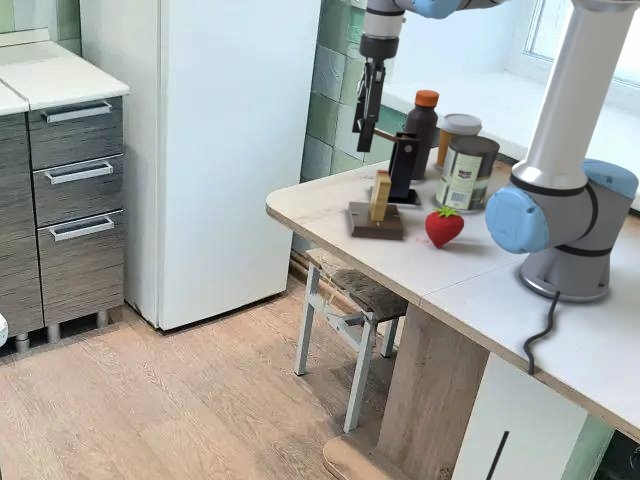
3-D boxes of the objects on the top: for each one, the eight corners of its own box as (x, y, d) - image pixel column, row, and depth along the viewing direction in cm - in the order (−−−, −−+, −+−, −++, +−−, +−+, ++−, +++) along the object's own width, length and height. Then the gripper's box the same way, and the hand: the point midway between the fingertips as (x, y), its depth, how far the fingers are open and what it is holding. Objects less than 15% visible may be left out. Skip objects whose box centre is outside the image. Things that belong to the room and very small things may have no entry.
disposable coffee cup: (478, 170, 194) (492, 122, 187) (451, 178, 190) (465, 129, 183) (447, 157, 201) (459, 110, 193) (421, 165, 197) (432, 116, 189)
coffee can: (473, 194, 183) (490, 134, 175) (488, 214, 175) (507, 152, 166) (428, 193, 183) (443, 133, 175) (441, 213, 175) (457, 151, 166)
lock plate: (401, 240, 165) (404, 228, 163) (351, 237, 165) (353, 225, 164) (394, 215, 174) (396, 203, 172) (346, 211, 175) (349, 200, 173)
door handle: (357, 134, 170) (363, 124, 168) (355, 125, 174) (360, 115, 173) (411, 156, 171) (417, 145, 170) (407, 146, 175) (413, 136, 174)
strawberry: (460, 255, 160) (473, 209, 154) (421, 253, 160) (433, 207, 154) (454, 242, 164) (466, 196, 158) (416, 239, 165) (428, 194, 159)
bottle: (405, 170, 194) (424, 86, 182) (428, 179, 190) (450, 94, 178) (387, 176, 191) (406, 92, 178) (411, 186, 186) (431, 100, 174)
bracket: (373, 205, 178) (386, 141, 169) (369, 191, 184) (382, 127, 175) (419, 209, 177) (435, 143, 168) (413, 193, 183) (429, 130, 174)
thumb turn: (382, 221, 166) (391, 181, 160) (372, 220, 166) (380, 180, 161) (379, 209, 170) (388, 169, 165) (369, 208, 171) (377, 169, 165)
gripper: (408, 51, 151) (384, 163, 164) (392, 21, 169) (372, 124, 182) (367, 49, 151) (347, 161, 165) (356, 19, 170) (338, 122, 183)
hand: (360, 141), depth 173 cm, fingers open, 11 cm apart
